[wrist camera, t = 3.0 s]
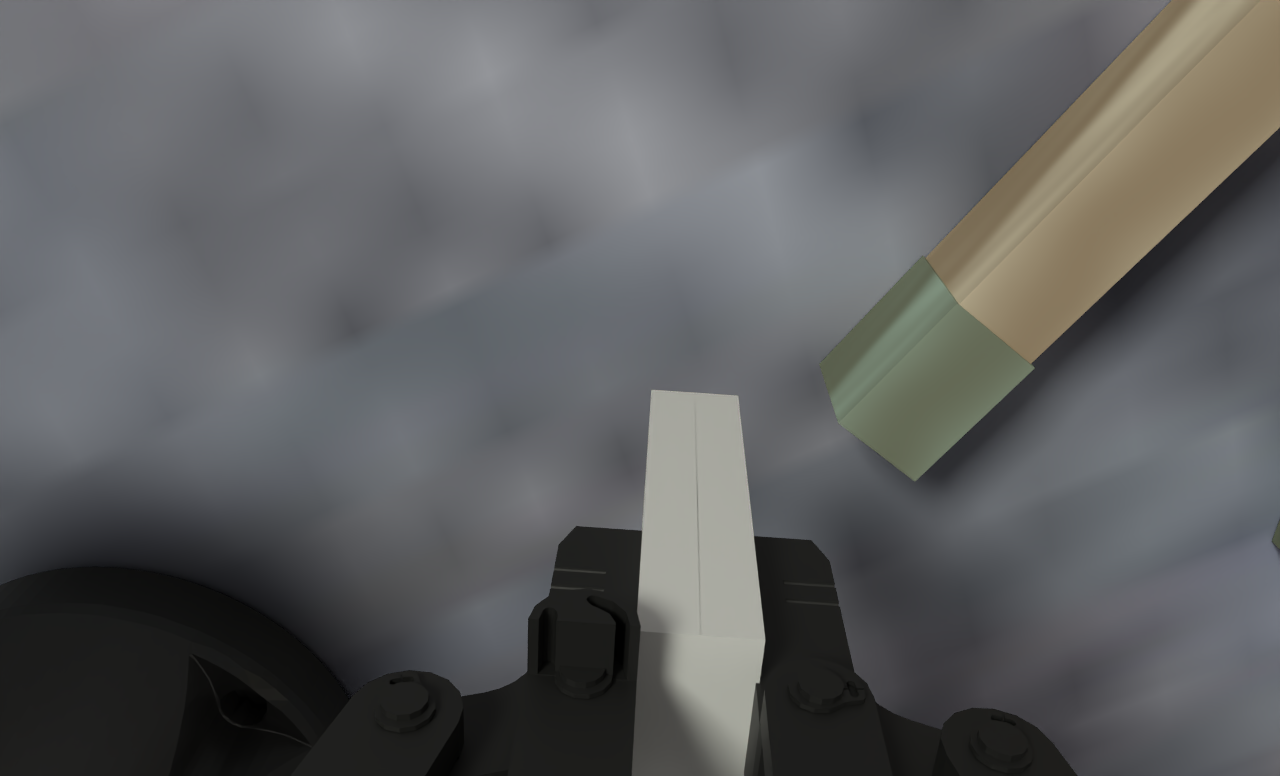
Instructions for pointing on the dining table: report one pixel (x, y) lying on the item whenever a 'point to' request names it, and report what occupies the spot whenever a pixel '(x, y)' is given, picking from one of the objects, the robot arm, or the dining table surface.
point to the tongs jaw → (1060, 228)
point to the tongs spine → (1277, 536)
